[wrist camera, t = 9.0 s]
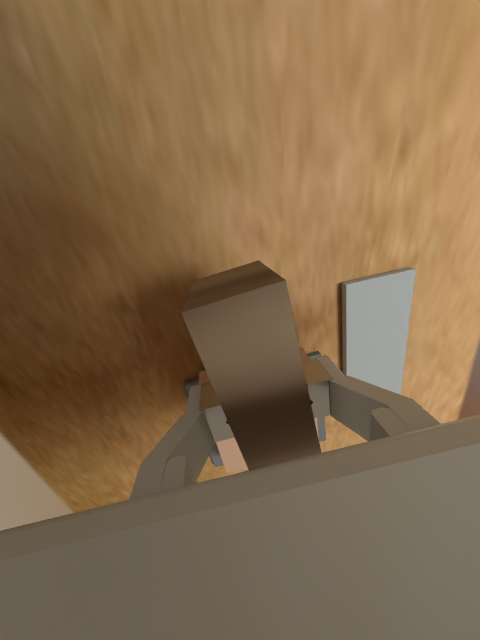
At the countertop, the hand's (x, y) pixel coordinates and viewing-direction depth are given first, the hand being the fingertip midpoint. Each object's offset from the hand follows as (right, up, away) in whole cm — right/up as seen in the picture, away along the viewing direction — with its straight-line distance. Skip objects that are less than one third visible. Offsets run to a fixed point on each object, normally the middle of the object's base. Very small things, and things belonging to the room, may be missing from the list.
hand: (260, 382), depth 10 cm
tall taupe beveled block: (0, +1, +2) cm, 2 cm away
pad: (+10, +1, +8) cm, 13 cm away
